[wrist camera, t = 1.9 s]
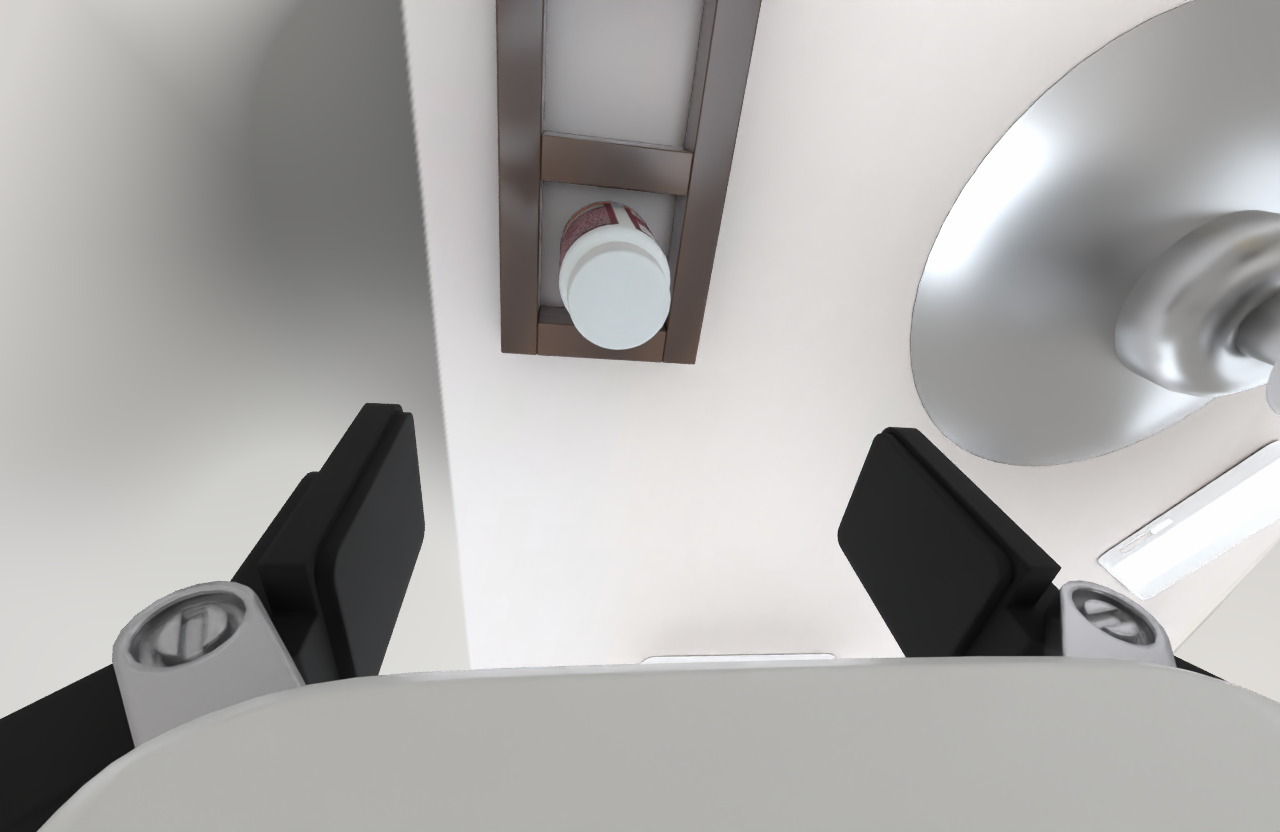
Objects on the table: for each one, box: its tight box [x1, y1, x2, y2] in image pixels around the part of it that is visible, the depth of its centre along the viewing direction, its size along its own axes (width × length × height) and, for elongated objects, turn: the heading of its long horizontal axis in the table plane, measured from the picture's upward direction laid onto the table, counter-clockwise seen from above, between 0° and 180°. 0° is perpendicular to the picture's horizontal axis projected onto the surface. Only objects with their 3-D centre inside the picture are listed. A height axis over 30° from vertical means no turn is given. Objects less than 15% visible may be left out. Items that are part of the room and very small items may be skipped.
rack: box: [496, 0, 762, 364], centre depth 25 cm, size 10×19×2 cm, turn 173°
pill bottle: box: [559, 201, 671, 350], centre depth 24 cm, size 5×5×8 cm
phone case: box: [1098, 441, 1280, 600], centre depth 44 cm, size 7×1×15 cm
